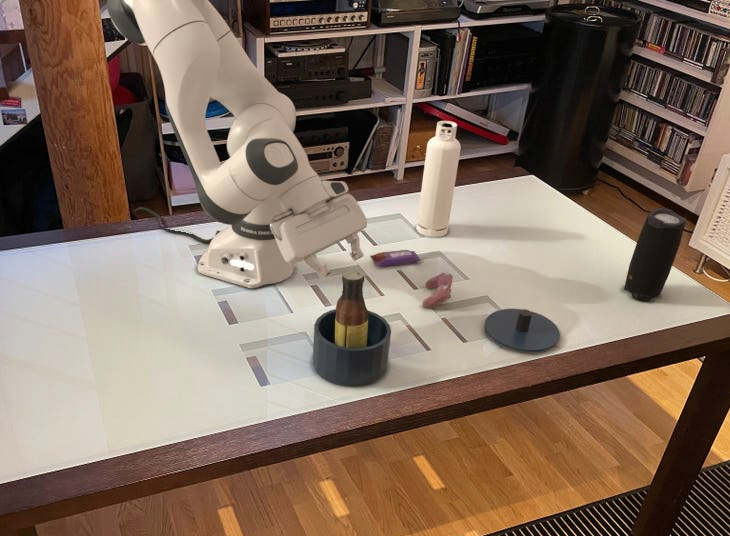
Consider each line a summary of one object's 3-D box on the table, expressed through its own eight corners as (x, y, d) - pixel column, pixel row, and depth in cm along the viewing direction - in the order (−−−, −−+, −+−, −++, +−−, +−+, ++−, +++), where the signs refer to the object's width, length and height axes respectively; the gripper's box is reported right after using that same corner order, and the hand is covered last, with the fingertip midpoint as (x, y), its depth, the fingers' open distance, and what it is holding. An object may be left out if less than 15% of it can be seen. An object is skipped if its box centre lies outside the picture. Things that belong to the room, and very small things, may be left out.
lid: (480, 346, 157) (484, 325, 154) (487, 308, 169) (491, 287, 166) (558, 360, 154) (564, 339, 151) (559, 320, 166) (564, 300, 163)
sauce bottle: (370, 358, 152) (378, 271, 140) (358, 375, 147) (366, 286, 135) (339, 349, 154) (345, 262, 142) (327, 365, 149) (332, 277, 137)
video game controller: (437, 316, 168) (456, 294, 164) (420, 306, 168) (438, 283, 164) (440, 294, 176) (457, 272, 172) (423, 284, 175) (441, 261, 171)
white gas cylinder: (448, 225, 202) (465, 120, 185) (446, 238, 195) (463, 131, 179) (418, 221, 203) (431, 116, 186) (414, 234, 197) (428, 127, 180)
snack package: (414, 247, 187) (422, 257, 183) (413, 254, 188) (421, 264, 184) (370, 252, 184) (377, 262, 180) (369, 259, 185) (376, 269, 182)
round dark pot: (304, 378, 147) (305, 342, 142) (323, 337, 158) (325, 302, 153) (378, 393, 144) (382, 356, 139) (392, 350, 155) (397, 315, 150)
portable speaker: (625, 301, 173) (651, 223, 161) (618, 281, 180) (642, 204, 169) (664, 305, 172) (693, 227, 160) (656, 285, 179) (683, 208, 168)
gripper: (274, 211, 133) (314, 281, 133) (351, 179, 145) (386, 243, 145) (257, 226, 138) (295, 293, 138) (332, 194, 150) (366, 255, 150)
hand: (342, 267), depth 142 cm, fingers open, 8 cm apart
